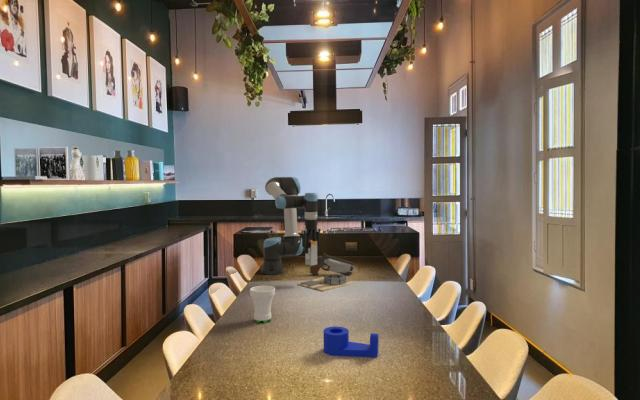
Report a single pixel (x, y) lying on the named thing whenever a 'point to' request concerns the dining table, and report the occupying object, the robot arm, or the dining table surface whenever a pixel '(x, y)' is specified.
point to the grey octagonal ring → (334, 279)
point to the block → (312, 253)
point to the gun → (332, 265)
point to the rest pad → (311, 283)
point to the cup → (262, 302)
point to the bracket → (348, 344)
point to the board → (324, 285)
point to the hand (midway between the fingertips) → (311, 258)
